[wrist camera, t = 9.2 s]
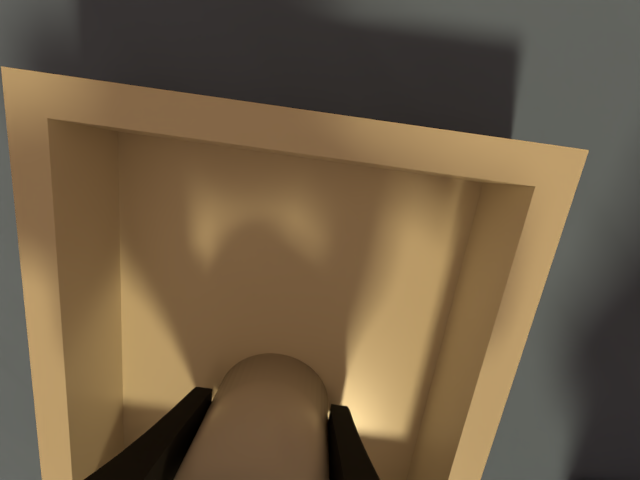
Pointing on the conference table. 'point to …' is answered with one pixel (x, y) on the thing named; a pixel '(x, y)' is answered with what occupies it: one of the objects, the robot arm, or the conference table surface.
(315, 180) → the tray
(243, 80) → the conference table surface
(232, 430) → the stone
